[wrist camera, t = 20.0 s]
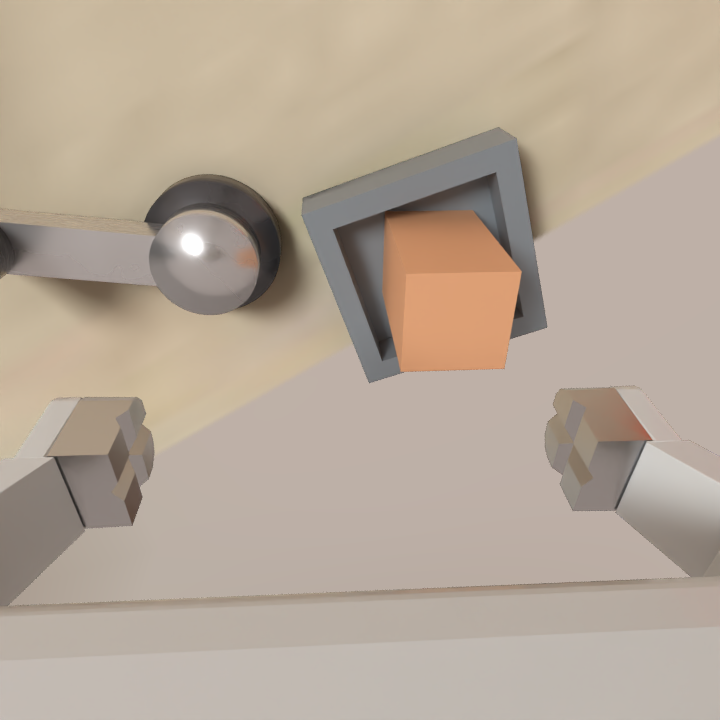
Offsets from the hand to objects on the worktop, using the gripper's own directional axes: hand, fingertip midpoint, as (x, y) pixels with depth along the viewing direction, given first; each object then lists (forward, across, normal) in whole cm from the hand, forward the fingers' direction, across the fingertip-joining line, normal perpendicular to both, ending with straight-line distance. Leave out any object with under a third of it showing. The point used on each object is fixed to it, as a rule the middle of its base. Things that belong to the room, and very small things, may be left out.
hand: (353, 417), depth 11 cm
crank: (+14, +10, +2) cm, 18 cm away
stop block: (+15, -4, +3) cm, 16 cm away
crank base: (+16, +6, +3) cm, 17 cm away
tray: (+16, -4, +4) cm, 17 cm away
